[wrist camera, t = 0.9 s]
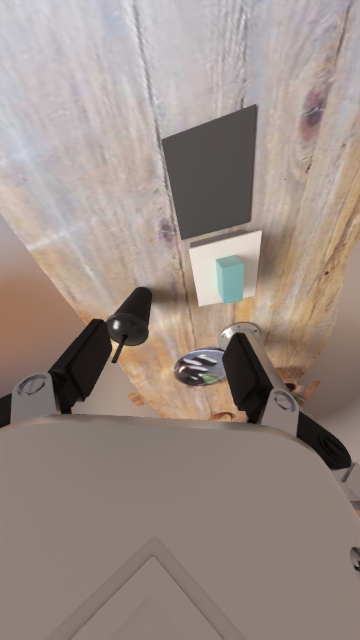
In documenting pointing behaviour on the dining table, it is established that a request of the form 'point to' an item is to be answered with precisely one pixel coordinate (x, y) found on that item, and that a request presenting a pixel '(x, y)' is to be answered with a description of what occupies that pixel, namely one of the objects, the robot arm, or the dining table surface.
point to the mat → (212, 173)
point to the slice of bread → (221, 417)
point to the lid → (226, 268)
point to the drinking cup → (131, 320)
